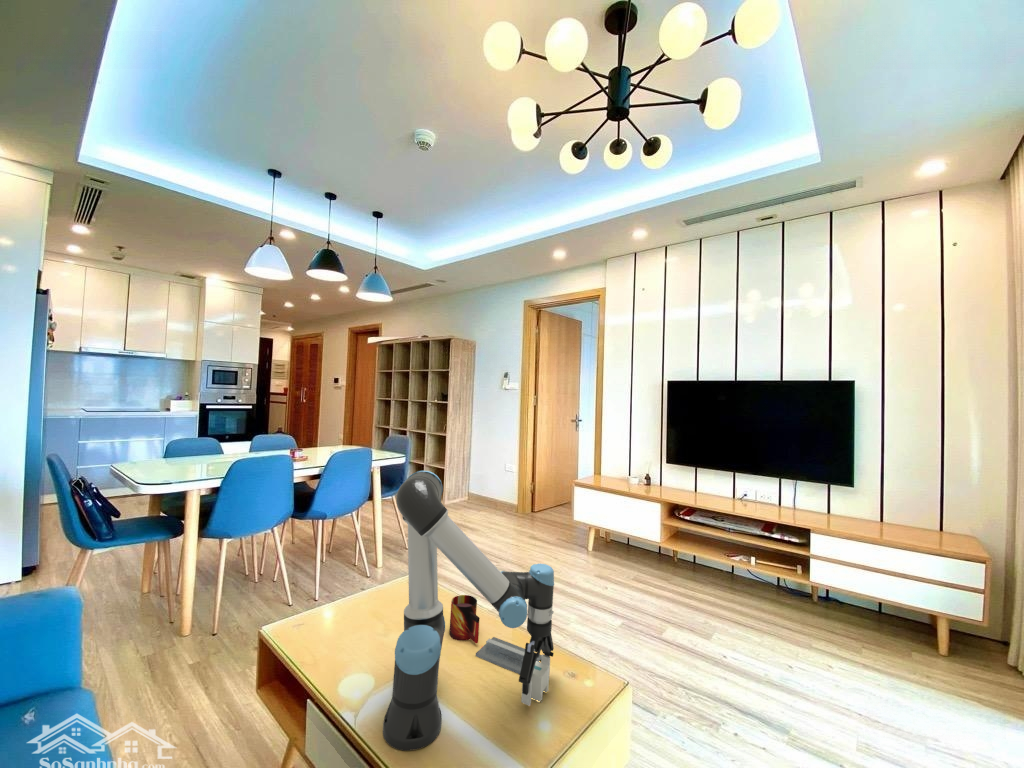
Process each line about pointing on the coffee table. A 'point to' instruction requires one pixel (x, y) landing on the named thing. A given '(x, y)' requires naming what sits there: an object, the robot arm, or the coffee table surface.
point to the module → (539, 680)
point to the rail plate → (503, 654)
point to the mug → (464, 618)
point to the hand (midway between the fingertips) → (535, 689)
